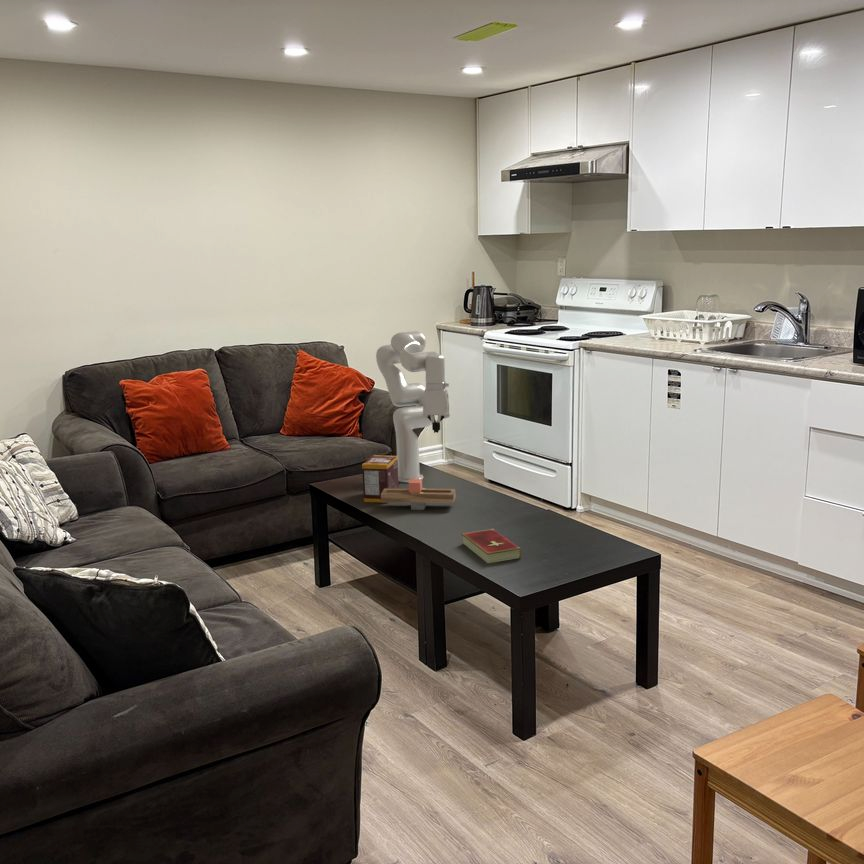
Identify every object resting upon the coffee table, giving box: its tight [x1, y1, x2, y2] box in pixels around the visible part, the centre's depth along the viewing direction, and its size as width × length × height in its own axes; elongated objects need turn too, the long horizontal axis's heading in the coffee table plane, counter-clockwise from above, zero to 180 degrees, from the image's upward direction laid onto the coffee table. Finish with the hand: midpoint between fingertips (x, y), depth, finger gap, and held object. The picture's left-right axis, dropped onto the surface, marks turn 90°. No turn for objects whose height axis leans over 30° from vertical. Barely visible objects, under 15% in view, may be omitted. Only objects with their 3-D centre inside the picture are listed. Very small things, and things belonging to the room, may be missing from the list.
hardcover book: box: [461, 528, 523, 564], centre depth 282 cm, size 12×21×4 cm, turn 21°
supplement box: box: [361, 454, 400, 504], centre depth 345 cm, size 10×15×16 cm
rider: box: [408, 479, 423, 493], centre depth 330 cm, size 6×4×6 cm
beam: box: [381, 487, 457, 511], centre depth 331 cm, size 8×28×6 cm, turn 83°
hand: (436, 431), depth 339 cm, fingers closed
